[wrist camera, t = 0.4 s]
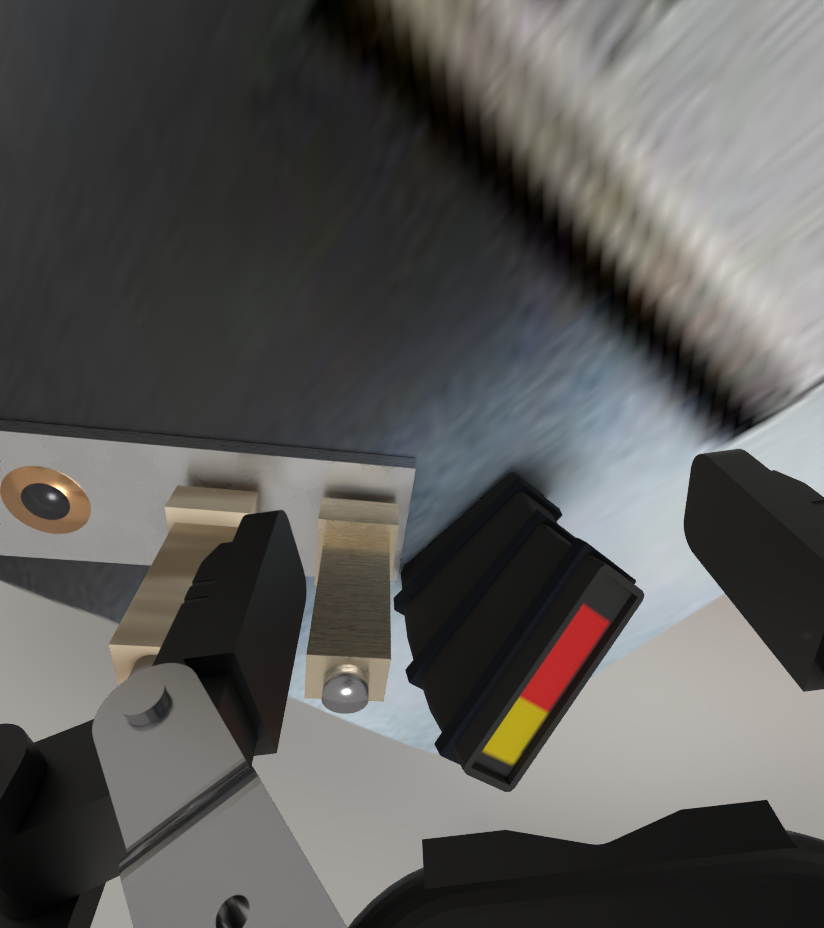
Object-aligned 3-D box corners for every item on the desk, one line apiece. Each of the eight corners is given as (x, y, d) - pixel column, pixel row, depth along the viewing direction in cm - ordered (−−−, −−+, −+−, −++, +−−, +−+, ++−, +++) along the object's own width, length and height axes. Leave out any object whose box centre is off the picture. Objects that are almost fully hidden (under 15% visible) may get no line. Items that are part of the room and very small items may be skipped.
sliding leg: (180, 480, 30) (82, 647, 20) (259, 486, 31) (200, 653, 21) (187, 547, 33) (104, 724, 23) (260, 552, 33) (209, 728, 23)
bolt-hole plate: (-99, 410, 29) (-400, 584, 18) (414, 457, 32) (430, 632, 21) (-46, 538, 33) (-258, 738, 22) (396, 569, 36) (401, 759, 25)
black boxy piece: (364, 612, 36) (449, 775, 22) (475, 454, 36) (627, 517, 23) (406, 635, 38) (511, 802, 24) (512, 482, 38) (677, 559, 24)
